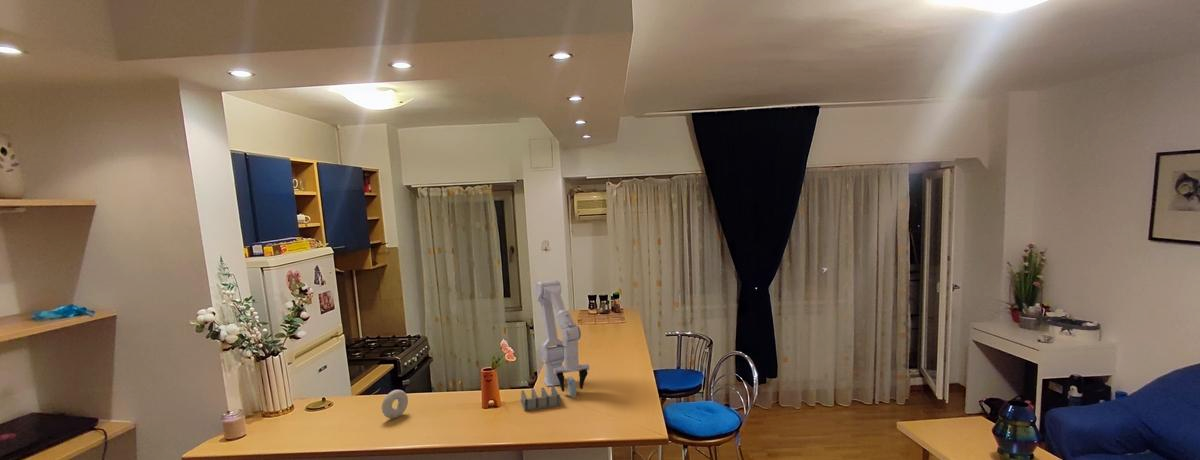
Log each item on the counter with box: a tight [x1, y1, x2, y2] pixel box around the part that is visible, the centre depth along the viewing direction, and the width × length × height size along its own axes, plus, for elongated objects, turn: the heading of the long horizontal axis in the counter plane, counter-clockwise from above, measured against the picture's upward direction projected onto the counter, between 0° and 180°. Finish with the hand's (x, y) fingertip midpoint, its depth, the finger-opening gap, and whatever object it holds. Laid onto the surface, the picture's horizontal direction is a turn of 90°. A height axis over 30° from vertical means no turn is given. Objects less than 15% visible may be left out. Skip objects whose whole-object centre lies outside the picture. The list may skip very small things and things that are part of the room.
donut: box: [381, 389, 409, 420], centre depth 169 cm, size 10×4×10 cm, turn 149°
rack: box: [520, 386, 561, 412], centre depth 179 cm, size 10×14×4 cm
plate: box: [567, 376, 577, 398], centre depth 188 cm, size 7×2×6 cm, turn 18°
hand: (572, 389), depth 188 cm, fingers open, 7 cm apart
